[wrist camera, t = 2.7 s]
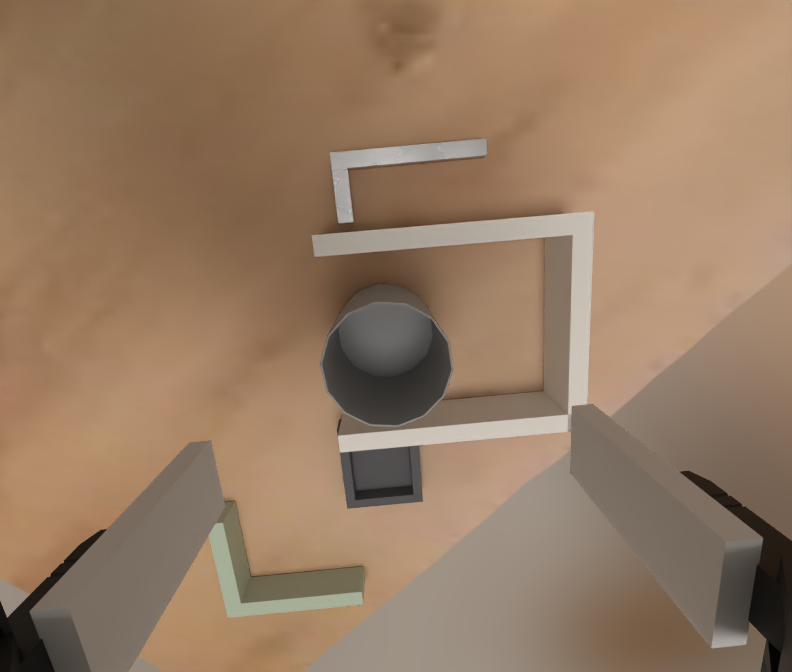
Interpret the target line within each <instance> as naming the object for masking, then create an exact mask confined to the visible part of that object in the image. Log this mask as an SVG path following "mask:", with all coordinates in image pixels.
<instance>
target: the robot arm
mask: <svg viewBox="0 0 792 672" xmlns="http://www.w3.org/2000/svg"><path fill="white" fill-rule="evenodd" d="M570 464H571V465H570V473H571V474H572V475H573V477H574V478H575V479H576V481H577V482H578V483H579V484H580V486H582V488H583V489H584V490H585V492H586V493H587V494H588V495H589V497H590V498H591V499H592V500H593V502H594V503H595V504H596V505H597V507H598V508H599V509H600V510H601V512H602V513H603V514H604V515H605V517H606V518H607V519H608V520H609V522H610V523H611V524H612V525H613V527H614V528H615V529H616V530H617V531H618V533H619V534H620V535H621V537H622V538H623V539H624V540H625V541H626V543H627V544H628V545H629V546H630V548H631V549H632V550H633V551H634V553H635V554H636V555H637V556H638V557H639V559H640V560H641V561H642V563H643V564H644V565H645V566H646V568H647V569H648V570H649V571H650V573H651V574H652V575H653V576H654V578H655V579H656V580H657V581H658V583H659V584H660V585H661V586H662V587H663V589H664V590H665V591H666V592H667V594H668V595H669V596H670V597H671V599H672V600H673V601H674V602H675V603H676V605H677V606H678V607H679V609H680V610H681V611H682V612H683V614H684V615H685V616H686V617H687V619H688V620H689V621H690V622H691V624H692V625H693V626H694V627H695V629H696V630H697V631H698V632H699V634H700V635H701V636H702V637H703V639H704V640H705V641H706V642H707V644H708V645H709V646H710V647H711V648H718V647H728V646H738V645H746V642H747V635H748V629H749V623H751V624H752V625H753V626H754V627H755V628H757V630H758V631H759V632H760V633H761V634H762V635H763V636H764V637H765V638H766V645H765V650H764V656H763V662H762V667H761V672H792V541H791V540H790V539H788V538H787V537H786V536H784V535H783V534H782V533H780V532H779V531H777V530H776V529H775V528H774V527H772V526H771V525H769V524H768V523H766V522H765V521H764V520H763V519H761V518H760V517H759V516H757V515H756V514H755V513H753V512H752V511H750V510H749V509H748V508H746V507H743V506H742V504H741V503H740V502H738V501H737V500H735V499H734V498H733V497H731V496H728V495H727V493H726V492H725V491H723V490H722V489H721V488H719V487H718V486H717V485H715V484H714V483H712V482H711V481H709V480H707V479H705V478H703V477H701V476H698V475H696V474H694V473H692V472H690V471H682V472H679V471H677V470H676V469H675V468H674V467H672V466H671V465H670V464H668V463H667V462H666V461H665V460H663V459H662V458H661V457H659V456H658V455H657V454H656V453H654V452H653V451H652V450H651V449H649V448H648V447H647V446H645V445H644V444H643V443H642V442H640V441H639V440H638V439H637V438H635V437H634V436H633V435H631V434H630V433H629V432H628V431H626V430H625V429H624V428H623V427H621V426H620V425H619V424H617V423H616V422H615V421H614V420H612V419H611V418H610V417H609V416H607V415H606V414H605V413H603V412H602V411H601V410H600V409H598V408H597V407H596V406H595V405H593V404H586V405H576V406H572V415H571V462H570ZM224 508H225V502H224V498H223V493H222V489H221V484H220V480H219V475H218V471H217V466H216V462H215V457H214V453H213V448H212V444H211V441H201V442H190V443H189V444H188V445H187V446H186V447H185V448H184V449H183V450H182V451H181V452H180V453H179V454H178V455H177V456H176V457H175V458H174V459H173V460H172V462H171V463H170V464H169V465H168V466H167V467H166V468H165V469H164V470H163V471H162V472H161V473H160V474H159V475H158V476H157V477H156V478H155V479H154V481H153V482H152V483H151V484H150V485H149V486H148V487H147V488H146V489H145V490H144V491H143V492H142V493H141V494H140V495H139V496H138V497H137V498H136V500H135V501H134V502H133V503H132V504H131V505H130V506H129V507H128V508H127V509H126V510H125V511H124V512H123V513H122V514H121V515H120V516H119V517H118V518H117V520H116V521H115V522H114V523H113V524H112V525H111V526H110V527H109V528H108V529H105V530H100V531H99V532H97V533H96V534H94V535H93V536H91V537H90V538H89V539H87V540H86V541H84V542H83V543H81V544H80V545H79V546H78V547H77V548H76V549H75V550H74V551H73V552H72V553H71V554H70V555H69V556H68V557H67V558H66V559H65V560H64V563H63V564H60V565H59V566H58V567H57V568H56V569H55V570H54V571H53V572H52V573H51V576H50V577H47V578H46V579H45V580H44V581H43V582H42V583H41V584H40V585H39V586H38V587H37V588H36V589H35V590H34V591H33V592H32V593H31V594H30V595H29V597H27V598H26V599H25V601H23V602H22V604H21V605H19V607H18V608H17V609H16V610H15V611H14V612H13V613H12V614H11V615H10V616H9V617H8V618H7V617H6V614H5V612H4V609H3V607H2V604H1V602H0V672H129V670H130V668H131V667H132V665H133V663H134V661H135V660H136V658H137V656H138V655H139V653H140V651H141V650H142V648H143V646H144V644H145V643H146V641H147V639H148V638H149V636H150V634H151V633H152V631H153V629H154V627H155V626H156V624H157V622H158V621H159V619H160V617H161V616H162V614H163V612H164V610H165V609H166V607H167V605H168V604H169V602H170V600H171V598H172V597H173V595H174V593H175V592H176V590H177V588H178V587H179V585H180V583H181V581H182V580H183V578H184V576H185V575H186V573H187V571H188V569H189V568H190V566H191V564H192V563H193V561H194V559H195V558H196V556H197V554H198V552H199V551H200V549H201V547H202V546H203V544H204V542H205V541H206V539H207V537H208V535H209V534H210V532H211V530H212V529H213V527H214V525H215V523H216V522H217V520H218V518H219V517H220V515H221V513H222V512H223V510H224Z"/></svg>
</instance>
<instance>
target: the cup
mask: <svg viewBox="0 0 792 672" xmlns="http://www.w3.org/2000/svg"><path fill="white" fill-rule="evenodd" d="M320 366H321V370H322V375H323V379H324V384H325V388H326V392H327V393H328V394H329V396H330V397H331V398H332V399H333V400H334V402H335V403H336V404H337V405H338V407H339V408H340V409H341V410H342V412H343V413H344V414H346V415H348V416H350V417H352V418H354V419H356V420H358V421H360V422H362V423H364V424H367V425H369V426H383V427H400V426H402V425H405V424H407V423H410V422H412V421H415V420H418V419H420V418H423V417H425V416H426V415H427V414H428V413H429V412H430V411H431V410H432V409H433V408H434V407H435V406H436V405H437V404H438V403H439V402H440V401H441V400H442V399H443V397H444V396H445V393H446V390H447V387H448V385H449V382H450V379H451V376H452V373H453V363H452V356H451V348H450V342H449V340H448V339H447V337H446V336H445V334H444V333H443V331H442V329H441V328H440V326H439V325H438V323H437V322H436V320H435V319H434V317H433V316H432V314H431V313H430V311H429V310H428V308H427V307H426V305H425V304H424V302H423V301H422V300H421V298H420V297H419V295H417V294H415V293H414V292H412V291H410V290H408V289H406V288H405V287H403V286H401V285H398V284H380V283H377V284H375V285H372V286H370V287H367V288H365V289H363V290H360V291H358V292H356V294H355V295H354V296H353V297H352V298H351V299H350V300H349V302H348V303H347V304H346V305H345V306H344V307H343V309H342V310H341V312H340V314H339V316H338V318H337V319H336V321H335V323H334V325H333V327H332V328H331V330H330V332H329V334H328V335H327V339H326V343H325V347H324V350H323V354H322V358H321V362H320Z"/></svg>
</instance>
